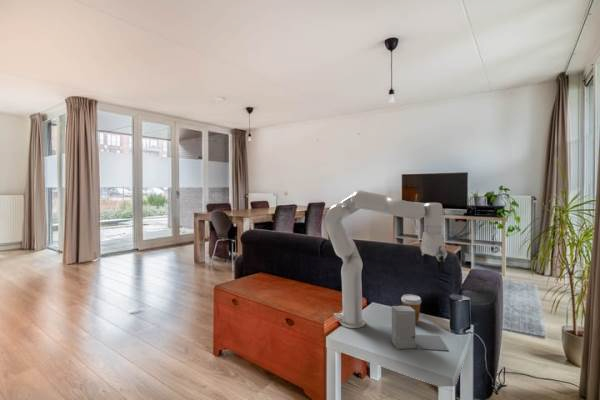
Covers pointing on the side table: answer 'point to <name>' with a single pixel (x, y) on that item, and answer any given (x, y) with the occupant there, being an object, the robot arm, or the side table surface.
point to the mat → (430, 343)
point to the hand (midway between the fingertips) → (432, 266)
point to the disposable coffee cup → (412, 304)
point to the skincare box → (403, 327)
